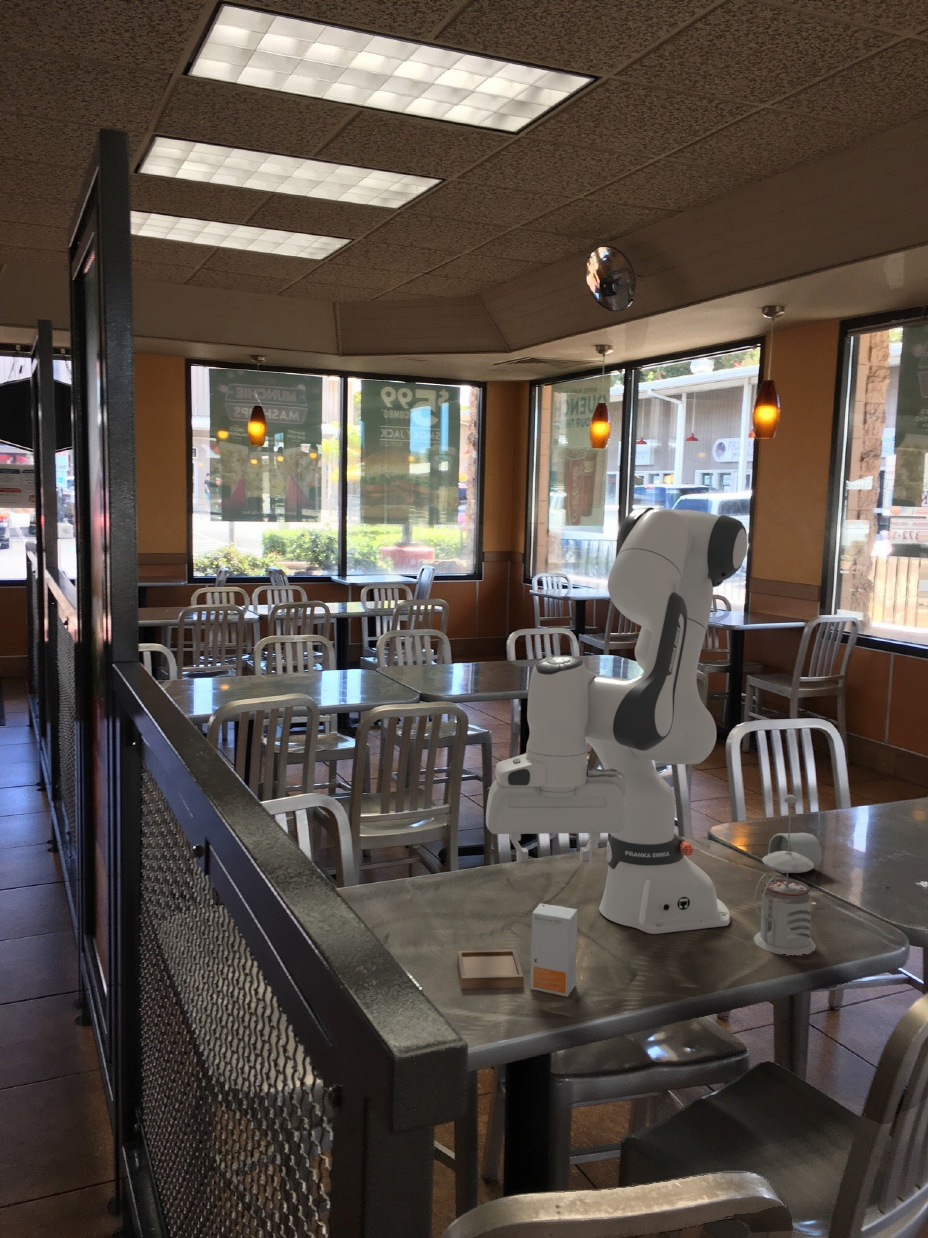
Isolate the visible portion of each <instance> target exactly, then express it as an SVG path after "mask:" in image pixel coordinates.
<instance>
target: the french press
mask: <svg viewBox="0 0 928 1238" xmlns="http://www.w3.org/2000/svg"><path fill="white" fill-rule="evenodd" d="M797 799H798V798H797V797H796V796H795V795H793V794H787V795H785V797H784V803H787V804H789V811H788V812H789V813H788V815H789V817H788V833H789V834H788V851H778V852H774V853H771V854H769V855H768V854H767V855H765V856H763V857H762V859H761V861H762V863H763V864H764V865H765V867H767V868H769V869H771V870H774V871H777V872H779V871H780V872H779V873H781V872H787V873H786V877H782V878H780V877H776V876H772V877H771V878H769V874H768V873H764V874H763V875H762V876H761V877H760V879H759V880H758V882H757V885H756V888H755V890H754V898H753V899H754V902H753V904H754V908H755V912H756V913H757V914H758V915H759V916H760V931H759V932H757V933H755V934H754V937H753V941H754V943H755V945H756V946H758V947H759V948H761V949H762V950H765V951H767V952H770V953H773V954H777V955H782V954H786V955H785V956H789V955H792V956H793V955H797V956H798V957H799V955H800V956H803V955H802V954H806V955H810V954H811V953H812V951H813V952H814V951H815V950H816V944H815V943H814V941H813V940H812V939H811V937H810V934H811V928H810V927H811V918H812V917H811V916H812V914H811V912H812V898H813V897H812V896H811V895H810V894H809V892H810V890H811V888H810V887H809V885H808V884H806V883H805V882H802V881H799V880H796V879H790V878H789V873H792V874H793V873H794V874H795V873H797V874H800V873H807V872H809V871H811V870H813V869H812V868H813V867H814V864H813V862H812V861H811V860H809V859H808V858H806V857H804V856H802V855H800V854H798V853H795V852H790V851H789V843H790V833H791V821H792V819H791V818H792V816H791V815H792V804H797ZM788 872H789V873H788ZM764 877H766V881H764V884H763V885H764V889H763V890H762V891H761V909H760V910H761V911H760V912H759V910H758V907H757V893H758V892H757V890H758V888H759V885H760V883H761V881H762V880H763V878H764ZM766 895H768V896H771V897H774V898H777V899H780V900H789V902H780V901H776V900H773V899H772V898H771V899H770V898H769V897H766ZM769 904H771V905H772V906H770V905H769ZM769 911H770V912H771V913H769ZM788 915H789V916H788Z"/></svg>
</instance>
